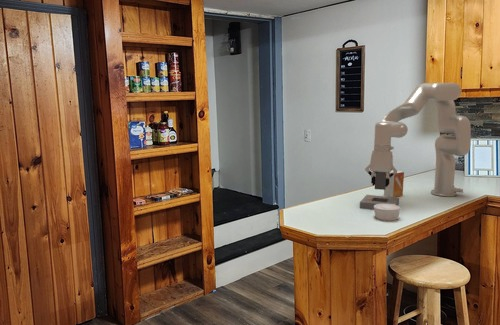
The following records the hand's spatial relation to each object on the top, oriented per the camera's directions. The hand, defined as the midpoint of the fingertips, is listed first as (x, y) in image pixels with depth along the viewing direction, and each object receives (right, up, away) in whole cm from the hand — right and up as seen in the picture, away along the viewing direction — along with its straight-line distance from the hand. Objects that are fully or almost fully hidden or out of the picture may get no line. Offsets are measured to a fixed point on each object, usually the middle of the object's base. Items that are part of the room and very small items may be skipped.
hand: (380, 185), depth 211 cm
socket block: (0, -10, +2) cm, 10 cm away
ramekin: (-2, -14, -18) cm, 22 cm away
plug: (0, -2, +1) cm, 2 cm away
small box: (+14, -7, +22) cm, 27 cm away
